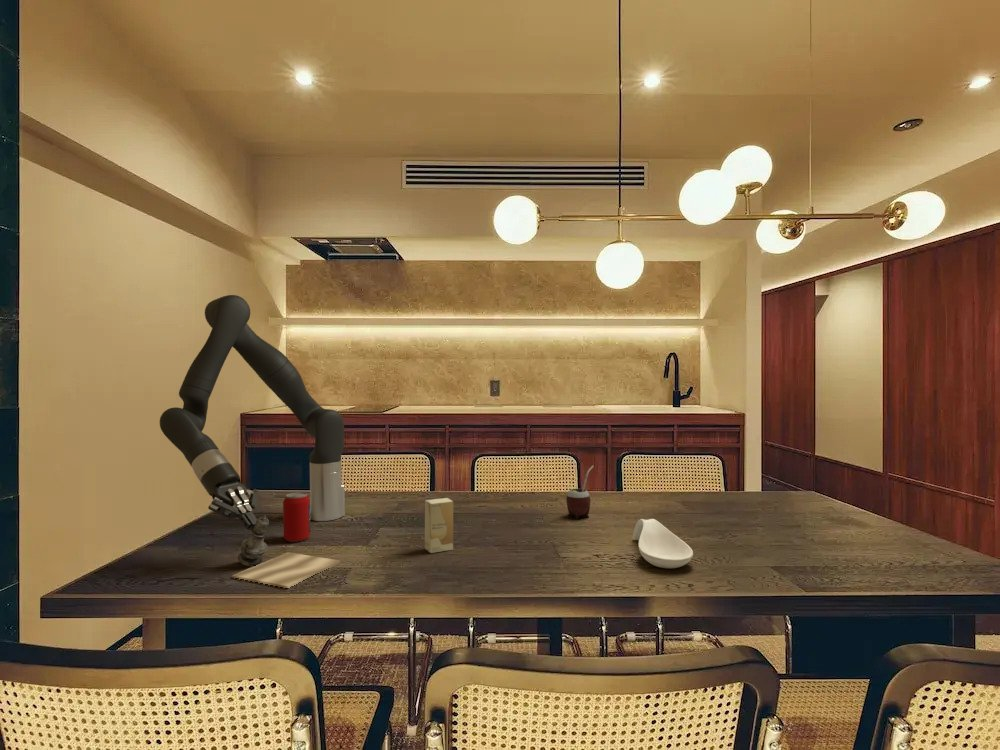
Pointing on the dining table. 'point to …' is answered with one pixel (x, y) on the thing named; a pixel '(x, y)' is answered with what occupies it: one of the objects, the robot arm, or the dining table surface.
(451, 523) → the skincare box
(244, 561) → the grey chess piece
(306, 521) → the beverage can
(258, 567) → the birch board
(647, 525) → the spoon rest
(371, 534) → the dining table surface
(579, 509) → the mate gourd
